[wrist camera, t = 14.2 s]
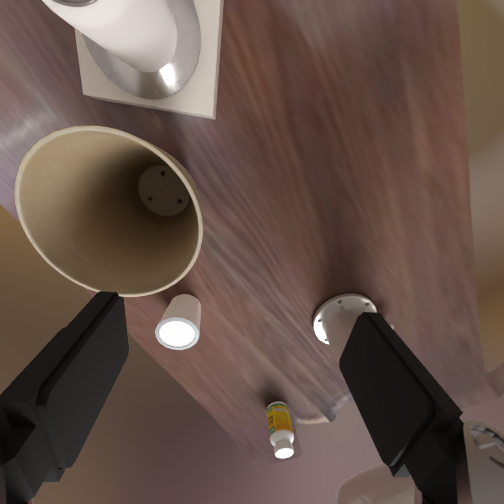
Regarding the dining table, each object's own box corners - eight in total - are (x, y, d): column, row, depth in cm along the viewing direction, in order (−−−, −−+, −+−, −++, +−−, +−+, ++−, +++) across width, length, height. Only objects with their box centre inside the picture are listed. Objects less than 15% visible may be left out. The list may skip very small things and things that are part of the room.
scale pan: (205, -25, 22) (203, -39, 20) (199, 109, 27) (197, 107, 25) (80, -56, 21) (67, -72, 19) (96, 91, 25) (87, 87, 24)
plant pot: (229, 157, 33) (224, 170, 18) (200, 248, 38) (179, 312, 24) (117, 113, 30) (8, 87, 15) (104, 219, 35) (14, 272, 21)
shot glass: (158, 301, 42) (145, 329, 36) (191, 285, 41) (183, 311, 35) (180, 326, 45) (171, 356, 39) (211, 311, 44) (207, 340, 38)
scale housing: (224, -10, 26) (222, -35, 22) (215, 119, 31) (212, 116, 27) (84, -43, 24) (57, -76, 20) (99, 99, 29) (80, 94, 25)
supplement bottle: (285, 413, 59) (294, 460, 51) (264, 413, 59) (269, 460, 50) (289, 400, 57) (299, 446, 49) (268, 400, 57) (274, 446, 48)
